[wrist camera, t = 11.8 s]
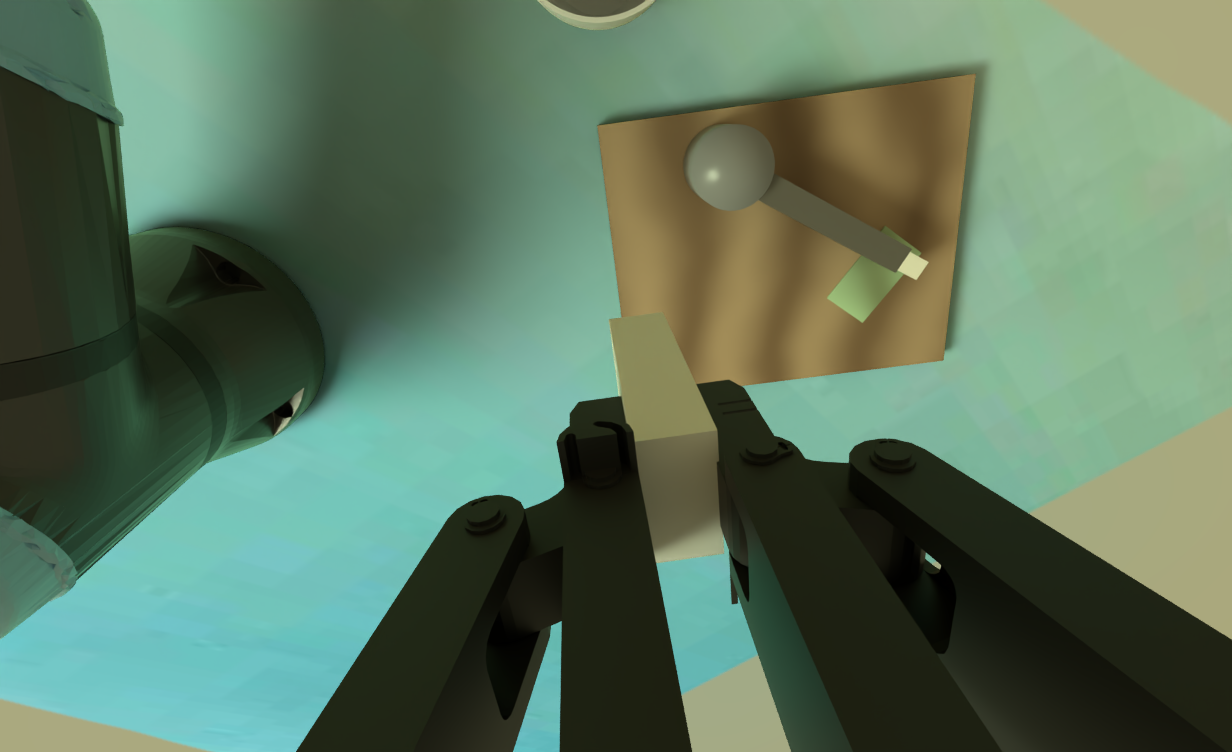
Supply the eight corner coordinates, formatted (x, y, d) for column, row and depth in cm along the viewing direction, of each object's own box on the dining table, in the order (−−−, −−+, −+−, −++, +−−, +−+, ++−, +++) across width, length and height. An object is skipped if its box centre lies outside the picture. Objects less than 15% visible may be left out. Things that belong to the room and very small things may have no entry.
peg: (670, 181, 35) (678, 188, 32) (705, 110, 34) (719, 108, 30) (877, 289, 38) (907, 307, 35) (918, 228, 37) (954, 240, 33)
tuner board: (631, 392, 42) (632, 400, 41) (597, 125, 35) (597, 125, 34) (934, 354, 42) (944, 360, 41) (963, 75, 35) (976, 73, 33)
